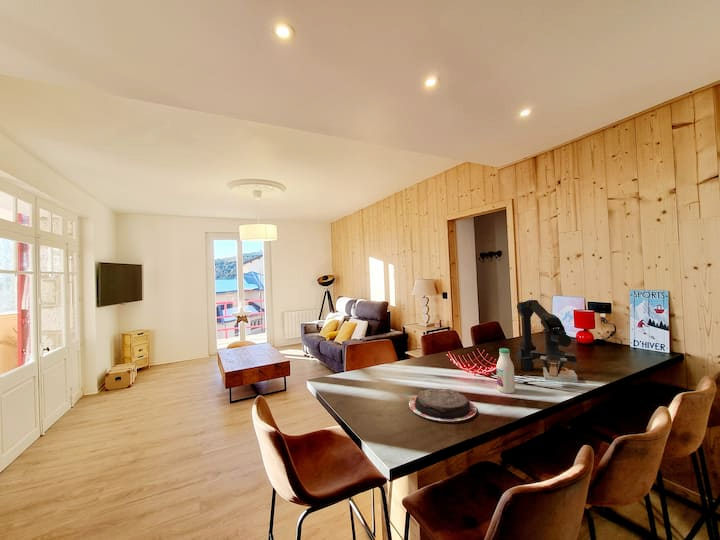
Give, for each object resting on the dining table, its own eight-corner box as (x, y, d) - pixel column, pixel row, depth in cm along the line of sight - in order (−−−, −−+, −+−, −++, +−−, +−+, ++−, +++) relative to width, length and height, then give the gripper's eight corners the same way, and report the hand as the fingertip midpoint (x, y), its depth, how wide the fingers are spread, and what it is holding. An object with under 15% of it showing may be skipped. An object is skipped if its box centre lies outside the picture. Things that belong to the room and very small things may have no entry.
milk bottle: (514, 388, 141) (512, 347, 142) (515, 394, 134) (513, 351, 135) (497, 386, 145) (495, 346, 145) (497, 392, 138) (495, 350, 138)
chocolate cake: (439, 390, 143) (438, 377, 143) (491, 411, 119) (490, 395, 119) (395, 405, 127) (395, 390, 128) (445, 432, 104) (444, 414, 104)
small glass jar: (549, 376, 143) (548, 364, 143) (548, 373, 146) (547, 362, 147) (559, 377, 141) (558, 365, 141) (557, 374, 145) (557, 362, 145)
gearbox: (545, 379, 153) (544, 370, 153) (543, 373, 162) (542, 365, 162) (577, 383, 146) (577, 373, 147) (573, 377, 155) (573, 368, 155)
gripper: (531, 343, 141) (532, 375, 141) (578, 347, 133) (580, 381, 132) (530, 339, 151) (531, 369, 151) (573, 342, 143) (575, 374, 142)
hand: (553, 373), depth 144 cm, fingers closed on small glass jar, 4 cm apart
